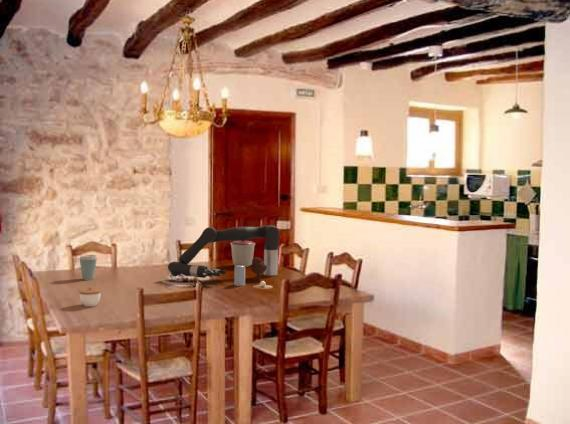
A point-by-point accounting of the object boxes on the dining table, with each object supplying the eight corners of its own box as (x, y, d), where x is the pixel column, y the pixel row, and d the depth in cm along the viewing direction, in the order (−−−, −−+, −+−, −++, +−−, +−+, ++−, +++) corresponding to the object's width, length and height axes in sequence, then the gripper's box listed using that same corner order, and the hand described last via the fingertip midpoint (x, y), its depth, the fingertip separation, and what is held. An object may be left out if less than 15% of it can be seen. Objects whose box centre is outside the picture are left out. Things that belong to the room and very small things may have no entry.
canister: (260, 266, 437) (260, 237, 435) (241, 269, 423) (242, 239, 422) (243, 263, 449) (243, 235, 447) (224, 265, 436) (225, 236, 434)
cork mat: (256, 284, 371) (256, 284, 371) (275, 286, 367) (275, 285, 367) (250, 288, 359) (250, 287, 359) (269, 290, 356) (269, 289, 356)
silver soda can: (236, 284, 371) (237, 265, 370) (246, 285, 370) (246, 265, 369) (232, 286, 366) (233, 266, 364) (242, 287, 364) (242, 267, 363)
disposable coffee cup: (78, 280, 370) (78, 256, 369) (80, 277, 381) (80, 254, 379) (96, 280, 372) (96, 256, 371) (97, 277, 383) (97, 253, 382)
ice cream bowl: (264, 282, 379) (265, 258, 378) (247, 281, 381) (248, 257, 380) (268, 279, 389) (269, 256, 388) (251, 278, 391) (252, 255, 390)
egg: (261, 285, 365) (261, 280, 365) (266, 286, 364) (266, 280, 364) (259, 287, 362) (259, 281, 362) (264, 287, 361) (264, 281, 361)
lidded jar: (82, 302, 315) (82, 285, 314) (103, 302, 316) (103, 285, 315) (76, 307, 305) (76, 289, 304) (98, 307, 305) (98, 289, 305)
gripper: (193, 267, 368) (218, 269, 363) (203, 263, 381) (227, 265, 377) (193, 279, 368) (218, 281, 364) (203, 275, 382) (227, 277, 377)
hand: (222, 273), depth 370 cm, fingers open, 8 cm apart
